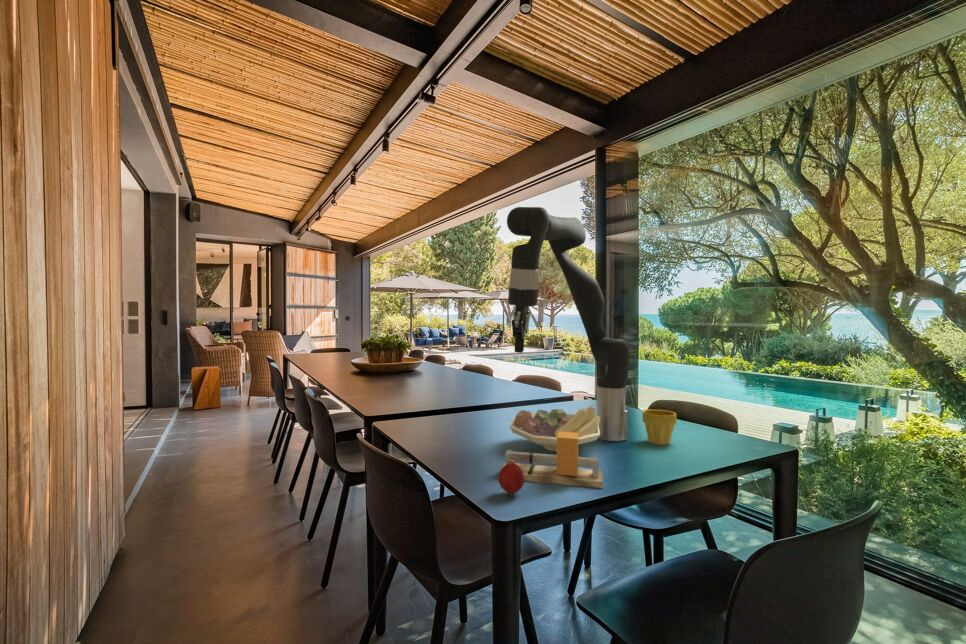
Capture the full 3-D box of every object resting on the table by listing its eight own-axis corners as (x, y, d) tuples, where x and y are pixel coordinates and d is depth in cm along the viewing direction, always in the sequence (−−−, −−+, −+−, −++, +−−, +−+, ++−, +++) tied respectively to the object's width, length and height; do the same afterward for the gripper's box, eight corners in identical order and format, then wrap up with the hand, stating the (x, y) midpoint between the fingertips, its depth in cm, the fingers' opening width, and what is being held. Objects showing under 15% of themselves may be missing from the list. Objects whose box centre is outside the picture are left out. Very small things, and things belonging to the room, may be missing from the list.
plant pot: (637, 437, 155) (638, 408, 155) (669, 438, 155) (669, 409, 155) (647, 446, 145) (648, 415, 145) (681, 447, 145) (681, 416, 144)
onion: (508, 487, 108) (509, 454, 108) (529, 494, 105) (529, 459, 105) (493, 495, 104) (493, 459, 104) (514, 502, 100) (514, 465, 100)
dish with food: (612, 463, 127) (613, 412, 127) (510, 461, 128) (511, 410, 128) (590, 436, 155) (591, 395, 155) (507, 435, 156) (507, 393, 156)
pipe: (598, 473, 115) (598, 457, 115) (598, 478, 112) (598, 461, 112) (507, 465, 120) (507, 450, 120) (504, 469, 117) (505, 453, 117)
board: (601, 476, 117) (602, 470, 117) (602, 488, 109) (603, 481, 109) (504, 467, 122) (504, 461, 122) (499, 478, 115) (499, 471, 115)
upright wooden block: (577, 468, 117) (578, 432, 117) (577, 476, 111) (577, 438, 111) (557, 466, 118) (558, 431, 118) (556, 474, 113) (557, 437, 112)
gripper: (514, 283, 126) (510, 345, 129) (503, 287, 114) (499, 355, 116) (542, 285, 124) (537, 348, 127) (533, 289, 112) (528, 359, 115)
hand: (518, 351), depth 122 cm, fingers closed
